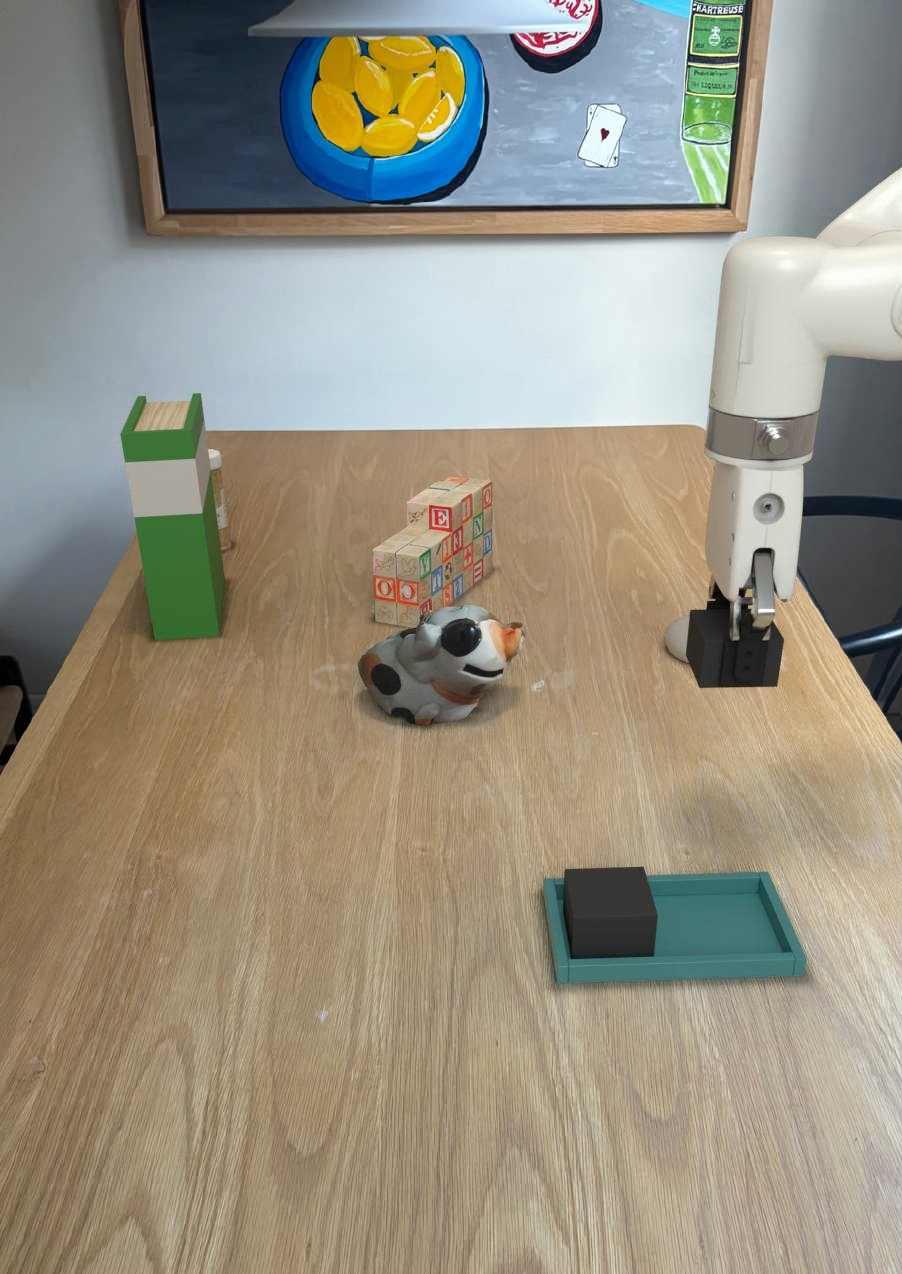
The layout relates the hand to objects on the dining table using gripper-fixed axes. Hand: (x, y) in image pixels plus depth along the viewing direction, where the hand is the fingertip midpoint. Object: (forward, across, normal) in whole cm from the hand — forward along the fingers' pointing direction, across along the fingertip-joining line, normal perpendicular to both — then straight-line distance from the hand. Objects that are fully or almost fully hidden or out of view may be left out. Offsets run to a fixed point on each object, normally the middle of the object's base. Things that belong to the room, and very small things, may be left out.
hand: (731, 663), depth 90 cm
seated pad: (+15, -15, +11) cm, 24 cm away
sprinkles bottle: (+16, +73, +55) cm, 93 cm away
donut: (+16, +36, -7) cm, 40 cm away
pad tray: (+16, -14, +6) cm, 22 cm away
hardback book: (+16, +51, +54) cm, 76 cm away
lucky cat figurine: (+16, +25, +23) cm, 38 cm away
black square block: (+1, 0, 0) cm, 1 cm away
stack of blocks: (+16, +54, +24) cm, 61 cm away
